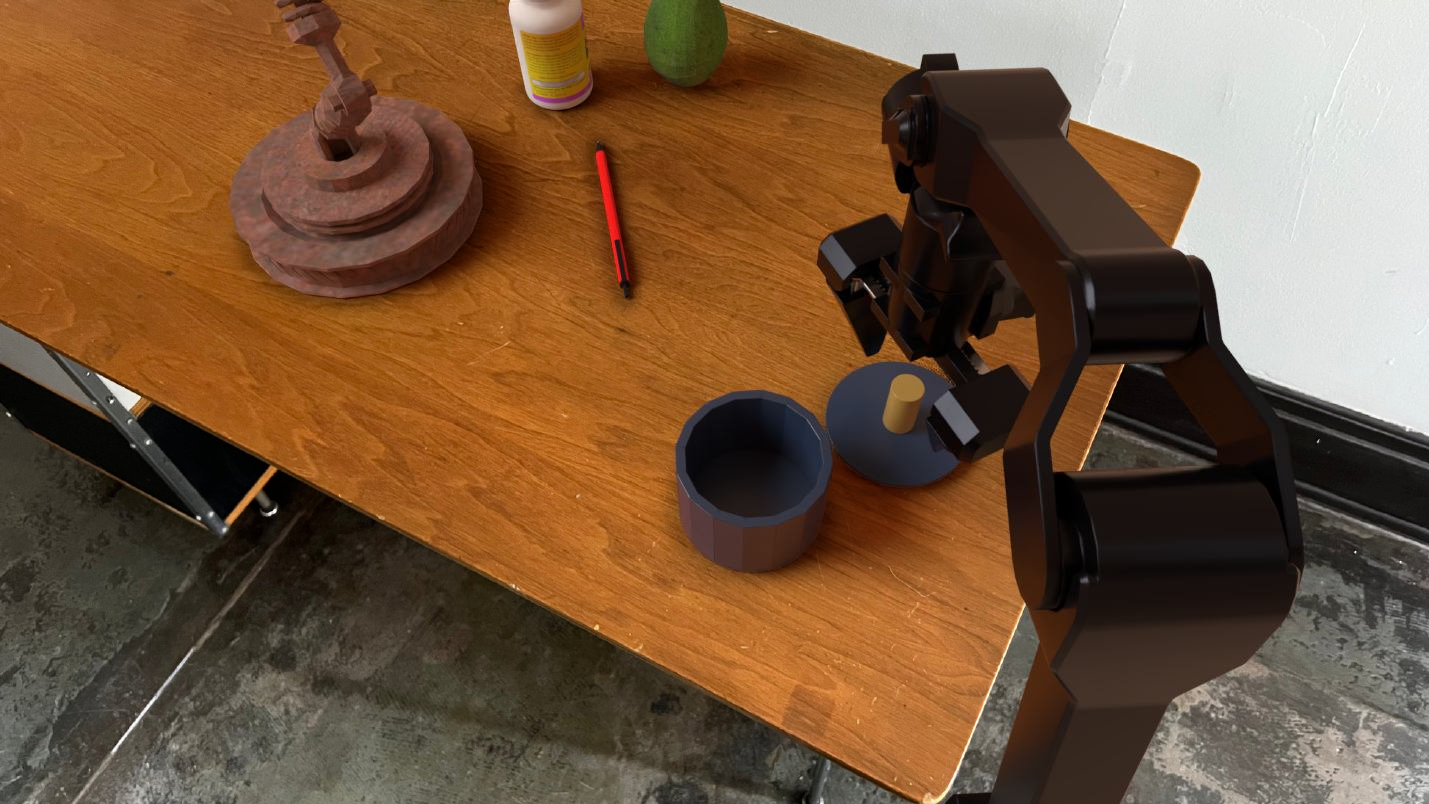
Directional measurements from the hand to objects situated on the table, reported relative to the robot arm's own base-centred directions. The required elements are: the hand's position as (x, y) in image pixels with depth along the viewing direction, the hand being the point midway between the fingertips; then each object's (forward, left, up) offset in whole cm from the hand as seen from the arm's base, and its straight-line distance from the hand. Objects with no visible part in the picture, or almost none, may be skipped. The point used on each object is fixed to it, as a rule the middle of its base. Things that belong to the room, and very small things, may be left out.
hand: (904, 399), depth 70 cm
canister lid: (0, 0, -4) cm, 4 cm away
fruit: (+44, -3, -4) cm, 44 cm away
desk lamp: (+43, +31, -4) cm, 53 cm away
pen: (+30, +11, -4) cm, 32 cm away
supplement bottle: (+48, +9, -4) cm, 49 cm away
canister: (-1, +13, -4) cm, 14 cm away
